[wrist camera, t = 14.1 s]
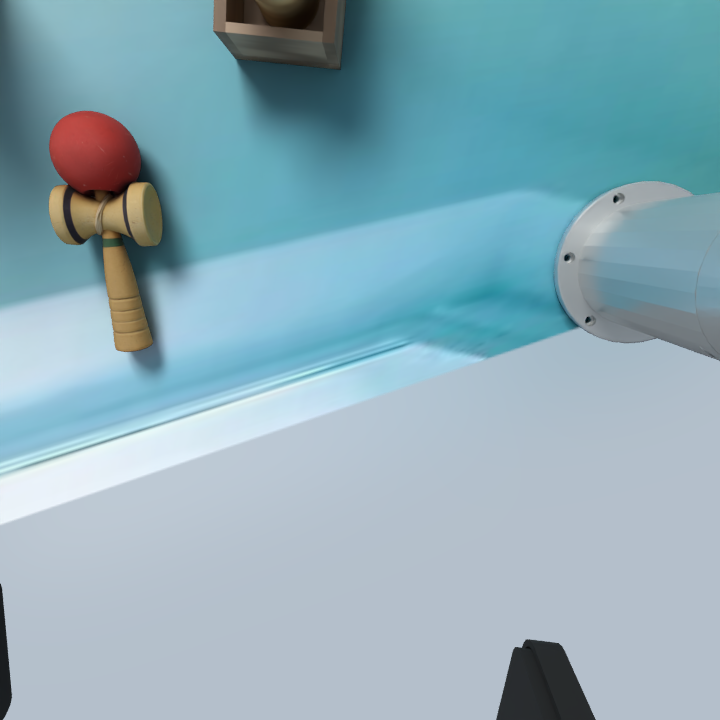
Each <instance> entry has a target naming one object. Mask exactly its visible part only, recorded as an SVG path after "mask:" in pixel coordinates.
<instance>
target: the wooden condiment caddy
mask: <svg viewBox="0 0 720 720" xmlns="http://www.w3.org/2000/svg"><path fill="white" fill-rule="evenodd" d="M345 8H346V0H214V24H213V31H214V32H215V34H216V35H217V36H218V37H219V39H220V40H221V41H222V42H223V44H224V45H225V46H226V47H227V49H228V50H229V51H230V52H231V54H232V55H233V56H234V57H235V59H243V60H252V61H262V62H271V63H281V64H290V65H300V66H309V67H319V68H329V69H338V70H340V67H341V56H342V44H343V32H344V20H345Z"/></svg>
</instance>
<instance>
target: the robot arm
mask: <svg viewBox="0 0 720 720" xmlns="http://www.w3.org/2000/svg"><path fill="white" fill-rule="evenodd" d="M614 196H615V197H616V201H615V202H613V197H614ZM566 254H567V255H568V259H567V260H566V261H565V260H564V256H565V255H566ZM554 281H555V288H556V292H557V295H558V298H559V301H560V303H561V305H562V307H563V308H564V310H565V312H566V313H567V315H568V316H569V317H570V318H571V319H572V320H573V321H574V322H575V323H576V324H577V325H578V326H579V327H581V328H582V329H584V330H585V331H587V332H588V333H591V334H593V335H595V336H597V337H599V338H602V339H605V340H608V341H612V342H621V343H635V342H644V341H648V340H652V339H656V338H658V339H661V340H664V341H667V342H670V343H673V344H675V345H678V346H681V347H683V348H686V349H689V350H692V351H694V352H697V353H700V354H703V355H705V356H708V357H711V358H714V359H717V360H719V361H720V192H719V193H711V194H704V195H696V196H695V195H693V194H692V193H691V192H689V191H687V190H685V189H683V188H681V187H679V186H676V185H674V184H669V183H664V182H660V181H643V182H637V183H631V184H627V185H623V186H620V187H617V188H614V189H611V190H609V191H607V192H605V193H603V194H601V195H599V196H598V197H597V198H595V199H594V200H592V201H591V202H590V203H588V204H587V205H586V206H585V207H584V208H583V209H582V210H581V211H580V212H579V213H578V214H577V215H576V216H575V217H574V218H573V220H572V221H571V223H570V224H569V226H568V227H567V229H566V230H565V232H564V234H563V236H562V239H561V241H560V243H559V245H558V249H557V253H556V257H555V263H554ZM587 317H589V320H588V321H587V322H585V320H586V318H587ZM11 698H12V693H11V681H10V670H9V659H8V648H7V637H6V626H5V616H4V605H3V594H2V587H1V584H0V720H3V719H4V717H5V715H6V713H7V711H8V709H9V706H10V703H11ZM496 720H595V717H594V715H593V713H592V711H591V708H590V706H589V704H588V702H587V700H586V697H585V695H584V693H583V691H582V689H581V686H580V684H579V682H578V680H577V677H576V675H575V673H574V671H573V668H572V666H571V664H570V662H569V660H568V657H567V655H566V653H565V651H564V649H563V647H562V646H561V645H560V644H559V643H552V642H545V641H537V640H526V641H525V642H524V644H523V646H522V648H519V647H515V648H514V650H513V653H512V657H511V661H510V665H509V670H508V674H507V678H506V682H505V686H504V690H503V694H502V699H501V703H500V707H499V711H498V715H497V719H496Z"/></svg>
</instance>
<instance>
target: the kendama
mask: <svg viewBox="0 0 720 720" xmlns="http://www.w3.org/2000/svg"><path fill="white" fill-rule="evenodd" d="M49 149H50V156H51V160H52V162H53V165H54V167H55V169H56V170H57V172H58V174H59V175H60V176H61V177H62V178H63V180H64V181H65V182H66V183H67V184H68V185H59V186H56V187H54V188H53V190H52V191H51V194H50V198H49V213H50V219H51V223H52V226H53V228H54V230H55V232H56V234H57V236H58V237H59V238H60V239H61V240H62V241H63V242H64V243H66V244H73V245H81V244H83V243H85V242H86V241H87V240H88V239H89V238H90V237H91V236H92V235H94V234H97V233H98V235H101V236H102V239H103V240H102V241H103V258H104V270H105V279H106V287H107V293H108V297H109V306H110V309H111V310H110V312H111V318H112V325H113V330H114V332H113V333H114V342H115V348H116V350H118V351H123V352H132V351H138V350H142V349H145V348H147V347H149V346H151V345H152V344H153V340H152V336H151V333H150V330H149V327H148V323H147V320H146V316H145V313H144V309H143V306H142V301H141V297H140V295H139V289H138V286H137V282H136V278H135V275H134V271H133V268H132V265H131V262H130V259H129V257H128V254H127V251H126V248H125V246H124V243H123V240H122V237H121V234H120V233H122V234H124V235H127V236H129V237H130V238H132V239H133V240H134V241H136V242H137V243H138V244H139V245H140V246H156V245H158V244H159V243H160V240H161V237H162V212H161V206H160V202H159V198H158V195H157V193H156V191H155V189H154V187H153V186H152V185H151V184H150V183H147V182H136V180H137V178H138V176H139V173H140V169H141V157H140V152H139V149H138V146H137V143H136V141H135V139H134V138H133V136H132V135H131V134H130V132H129V131H128V130H127V129H126V128H125V127H124V126H123V125H122V124H121V123H120V122H118V121H117V120H115V119H113V118H111V117H109V116H107V115H105V114H102V113H98V112H93V111H79V112H75V113H72V114H69V115H67V116H65V117H63V118H62V119H61V120H60V121H59V122H58V123H57V124H56V126H55V127H54V129H53V131H52V133H51V137H50V143H49ZM91 196H92V197H91Z"/></svg>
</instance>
